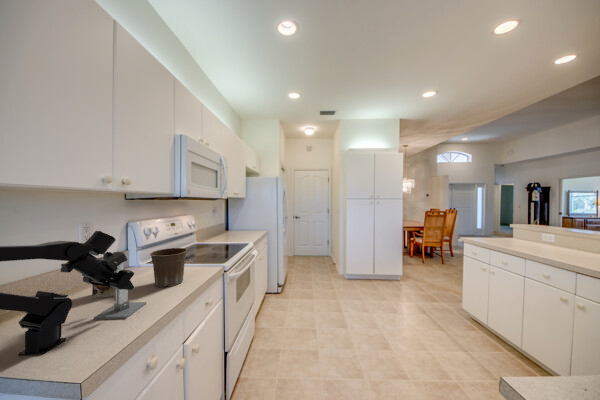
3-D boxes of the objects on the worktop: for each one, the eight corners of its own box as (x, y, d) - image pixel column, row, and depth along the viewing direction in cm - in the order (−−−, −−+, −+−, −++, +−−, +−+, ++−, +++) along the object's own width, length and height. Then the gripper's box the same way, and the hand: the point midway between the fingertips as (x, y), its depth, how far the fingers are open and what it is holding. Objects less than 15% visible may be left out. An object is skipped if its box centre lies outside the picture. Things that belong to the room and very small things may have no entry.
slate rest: (126, 318, 78) (126, 316, 78) (93, 319, 77) (93, 317, 77) (146, 303, 89) (146, 301, 89) (117, 304, 88) (117, 302, 88)
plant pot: (168, 291, 101) (168, 256, 101) (141, 287, 105) (141, 254, 105) (194, 279, 117) (194, 248, 117) (169, 276, 121) (169, 247, 121)
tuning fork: (120, 311, 81) (120, 279, 81) (114, 310, 82) (114, 278, 82) (129, 307, 84) (129, 276, 84) (123, 306, 85) (123, 275, 85)
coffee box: (91, 298, 93) (91, 260, 93) (100, 292, 99) (100, 256, 100) (116, 296, 96) (116, 259, 96) (124, 290, 102) (124, 255, 102)
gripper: (128, 248, 76) (157, 270, 87) (93, 244, 82) (124, 265, 92) (101, 278, 69) (137, 298, 79) (65, 272, 74) (102, 291, 85)
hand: (125, 287), depth 84 cm, fingers open, 8 cm apart
